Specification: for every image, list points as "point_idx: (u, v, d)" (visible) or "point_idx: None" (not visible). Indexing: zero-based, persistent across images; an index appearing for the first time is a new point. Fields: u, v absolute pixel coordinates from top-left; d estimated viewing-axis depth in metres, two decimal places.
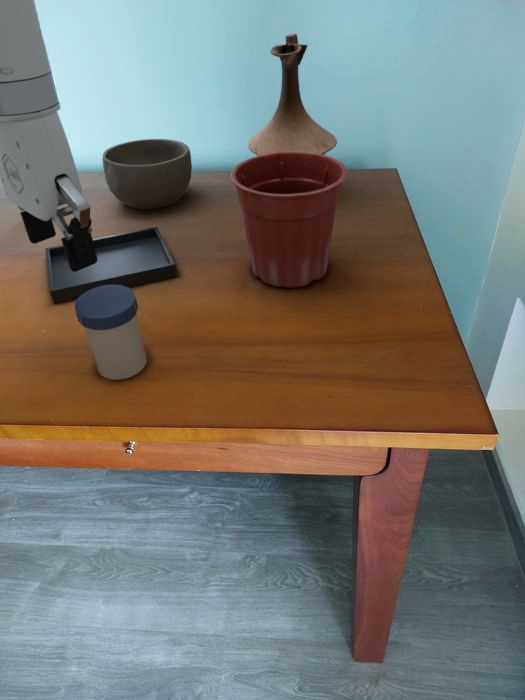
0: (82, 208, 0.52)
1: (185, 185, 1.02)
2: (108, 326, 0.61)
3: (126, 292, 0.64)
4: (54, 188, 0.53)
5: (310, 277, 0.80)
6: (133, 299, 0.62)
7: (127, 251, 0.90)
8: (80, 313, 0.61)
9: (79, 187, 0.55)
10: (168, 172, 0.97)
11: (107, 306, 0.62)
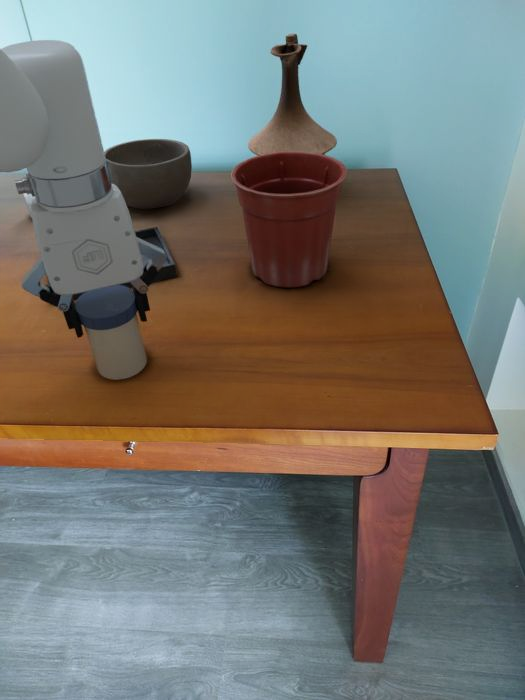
0: (166, 255, 0.61)
1: (185, 185, 1.02)
2: (108, 326, 0.61)
3: (126, 292, 0.64)
4: (138, 245, 0.59)
5: (310, 277, 0.80)
6: (133, 299, 0.62)
7: None
8: (80, 313, 0.61)
9: None
10: (168, 172, 0.97)
11: (107, 306, 0.62)
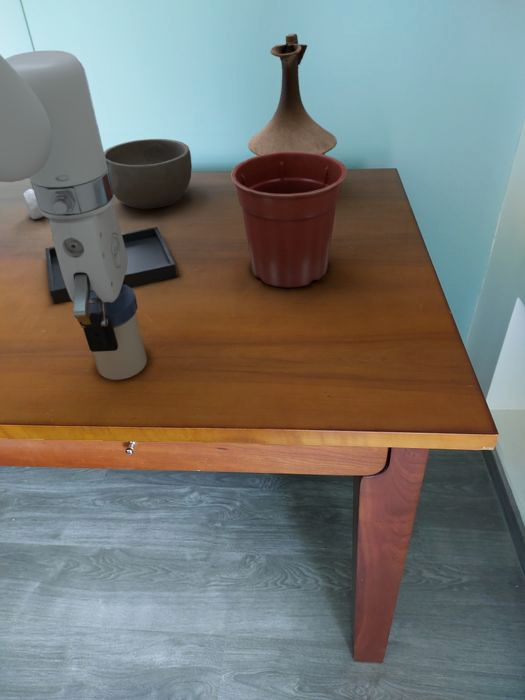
0: None
1: (185, 185, 1.02)
2: (136, 304, 0.63)
3: None
4: None
5: (310, 277, 0.80)
6: None
7: (127, 251, 0.90)
8: (118, 311, 0.60)
9: None
10: (168, 172, 0.97)
11: None
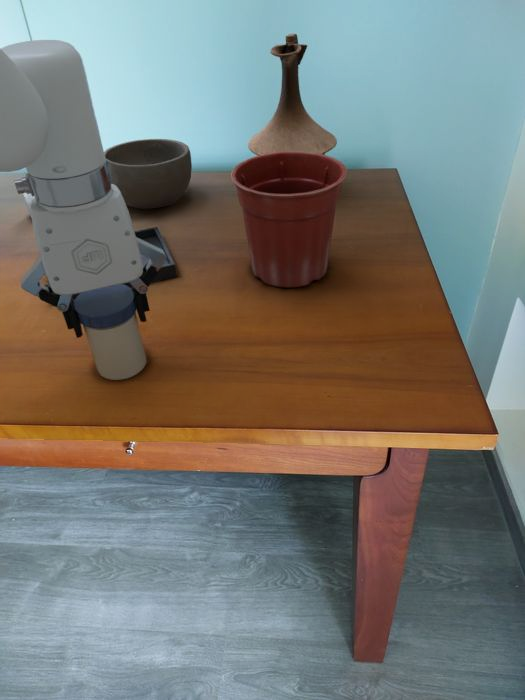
0: (165, 255, 0.61)
1: (185, 185, 1.02)
2: None
3: None
4: (138, 245, 0.59)
5: (310, 277, 0.80)
6: None
7: None
8: (117, 311, 0.60)
9: None
10: (168, 172, 0.97)
11: (114, 297, 0.63)
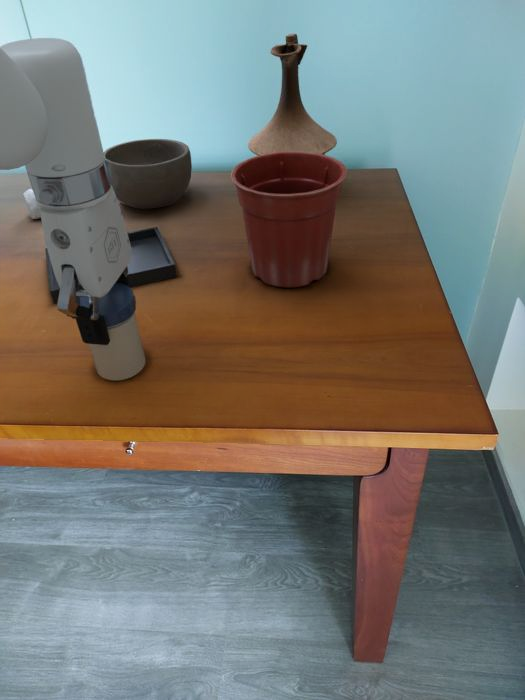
0: None
1: (185, 185, 1.02)
2: None
3: None
4: None
5: (310, 277, 0.80)
6: None
7: None
8: (131, 295, 0.62)
9: None
10: (168, 172, 0.97)
11: None
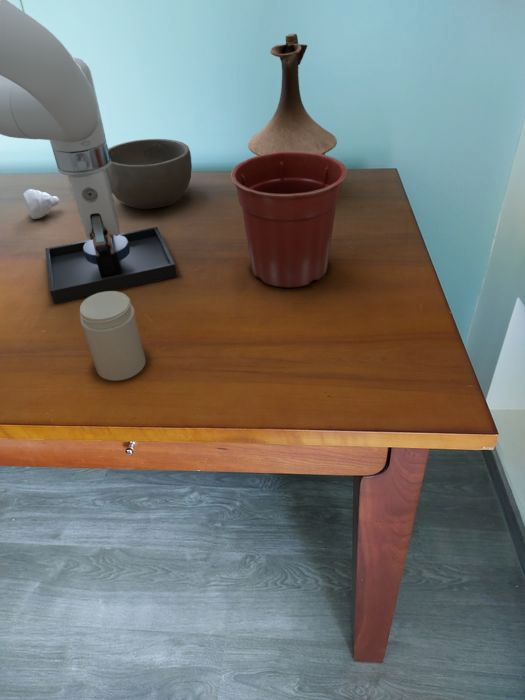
0: None
1: (185, 185, 1.02)
2: None
3: (88, 248, 0.84)
4: None
5: (310, 277, 0.80)
6: (85, 243, 0.85)
7: None
8: (124, 238, 0.86)
9: None
10: (168, 172, 0.97)
11: (105, 240, 0.86)
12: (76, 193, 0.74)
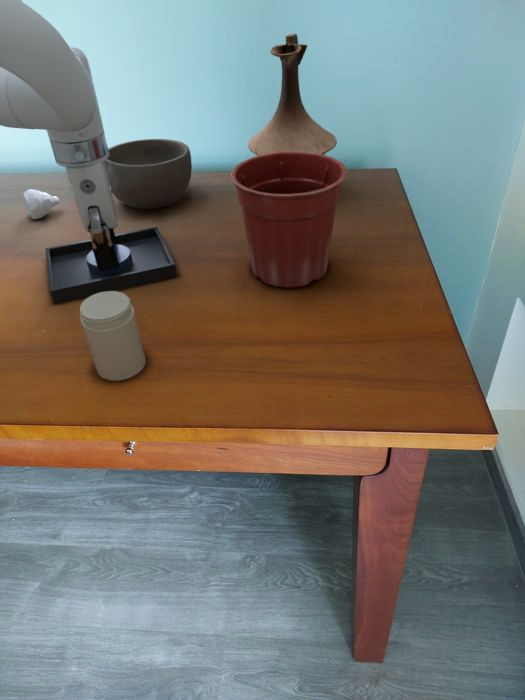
0: None
1: (185, 185, 1.02)
2: None
3: (91, 259, 0.85)
4: None
5: (310, 277, 0.80)
6: (88, 254, 0.86)
7: None
8: (127, 248, 0.87)
9: None
10: (168, 172, 0.97)
11: None
12: (74, 185, 0.73)
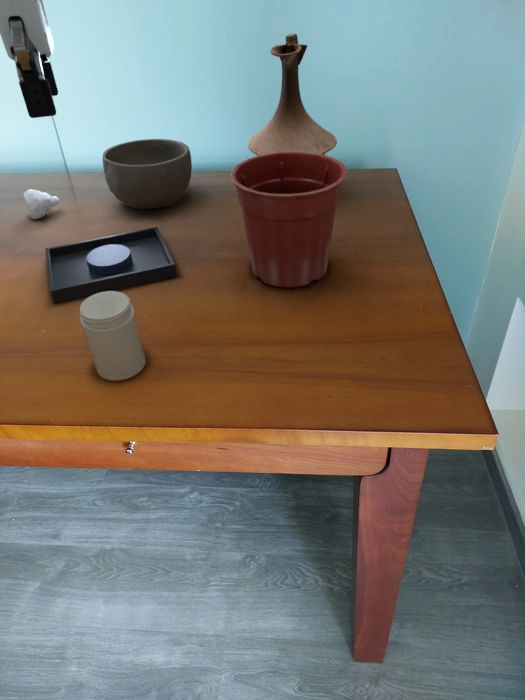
0: None
1: (185, 185, 1.02)
2: None
3: (91, 259, 0.85)
4: None
5: (310, 277, 0.80)
6: (88, 254, 0.86)
7: None
8: (127, 248, 0.87)
9: None
10: (168, 172, 0.97)
11: (108, 251, 0.87)
12: None
